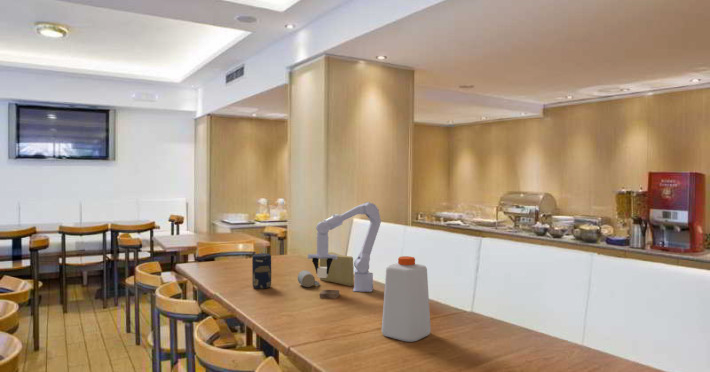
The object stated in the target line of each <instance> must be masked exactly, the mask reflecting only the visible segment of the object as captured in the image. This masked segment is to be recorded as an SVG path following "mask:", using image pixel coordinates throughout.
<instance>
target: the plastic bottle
mask: <svg viewBox="0 0 710 372" xmlns="http://www.w3.org/2000/svg"><path fill="white" fill-rule="evenodd" d="M397 259H398V260H397V263H392V264H389V265H387V267H386V268H385V279H384V280H385V281H384V282H385V283H384V294H383V307H382V317H381V318H382V319H381V321H382V322H381V334H382V335H383V336H385V337H387V338H391V339H394V340H399V341H401V342H407V343H412V342H417V341H419V340H421V339H423V338H426V337H428V336H429V335H430V334H431V331H432V330H431V314H430V312H431V311H430V299H429V298H430V297H429V295H430V294H429V280H428V268H427V267H426V266H425V265H423V264H419V263H416V258H415V257H414V256H405V255H404V256H403V255H402V256H399V257H398V258H397Z"/></svg>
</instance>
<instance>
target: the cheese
mask: <svg viewBox="0 0 710 372" xmlns="http://www.w3.org/2000/svg"><path fill="white" fill-rule="evenodd" d="M328 254H331V255H337V259H333V260H332V263H331V265H330V268H329V273H328V276H327V278H319V280H320V281H325V282H330V283H334V284H335V283H336V284H340V285H345V286H347V287H348V286H349V287H352V286H353V287H354V271H355V270H354V268H355V266H354V257H353V256H349V255H343V254H339V253H336V252H333V251H331V252H328ZM325 258H326V257H325ZM319 267H327V259H319Z"/></svg>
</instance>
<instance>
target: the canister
mask: <svg viewBox="0 0 710 372" xmlns="http://www.w3.org/2000/svg"><path fill="white" fill-rule="evenodd" d="M251 259H252V260H251V261H252V265H251V266H252V268H251V269H252V271H251V272H252V273H251V274H252V276H251V278H252V280H251V281H252V283H251V285H252V288H255V289H259V290H260V289H261V290H262V289H268V288H270V287H271V286H272V256H271V254H270V253H263V252H261V253H255V254H253V255H252V258H251Z"/></svg>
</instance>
